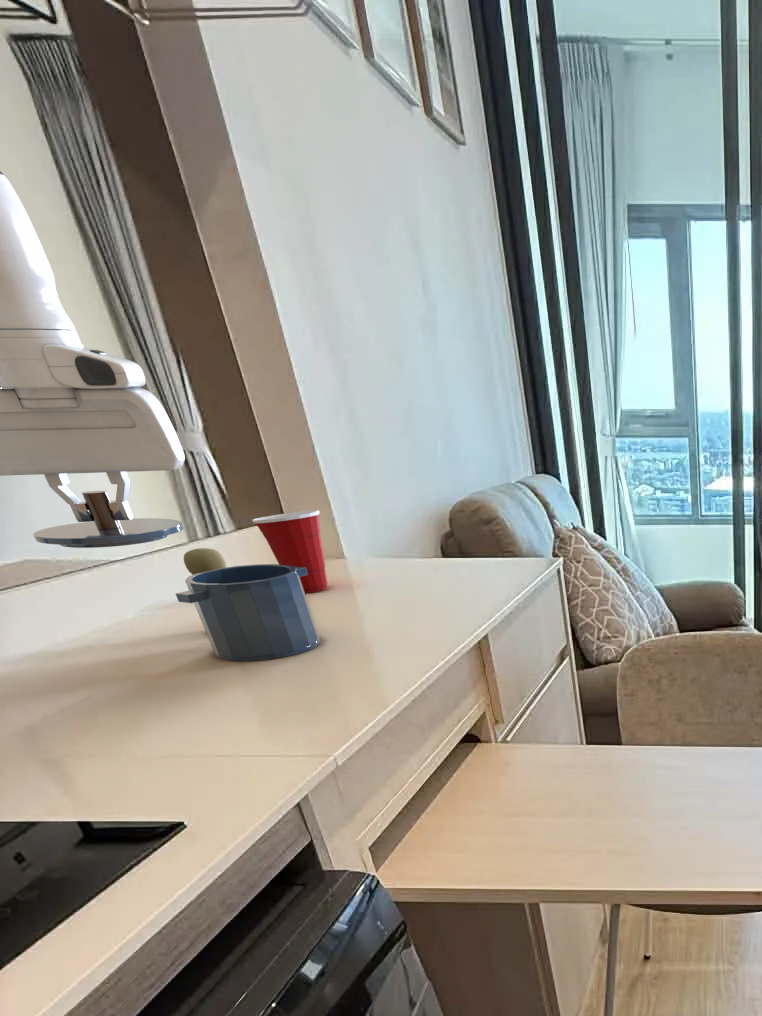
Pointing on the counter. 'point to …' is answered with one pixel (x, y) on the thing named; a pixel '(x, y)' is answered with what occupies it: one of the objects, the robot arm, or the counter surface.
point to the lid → (107, 528)
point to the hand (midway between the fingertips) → (106, 520)
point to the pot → (253, 611)
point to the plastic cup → (297, 545)
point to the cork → (203, 560)
